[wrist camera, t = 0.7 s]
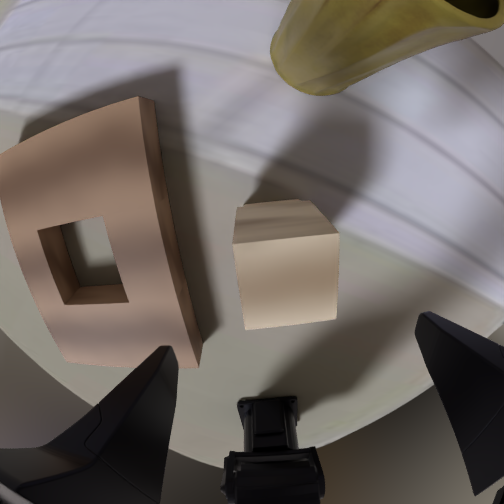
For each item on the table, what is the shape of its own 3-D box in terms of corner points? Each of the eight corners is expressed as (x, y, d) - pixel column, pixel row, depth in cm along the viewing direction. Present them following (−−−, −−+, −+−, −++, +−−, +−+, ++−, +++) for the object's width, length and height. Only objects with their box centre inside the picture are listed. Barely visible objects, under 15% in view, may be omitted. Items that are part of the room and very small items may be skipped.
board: (202, 343, 24) (198, 368, 21) (78, 343, 24) (67, 362, 22) (154, 101, 16) (138, 96, 13) (15, 152, 16) (-7, 158, 14)
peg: (306, 253, 21) (336, 319, 13) (245, 260, 21) (245, 329, 13) (303, 193, 19) (339, 232, 11) (237, 200, 19) (232, 244, 12)
